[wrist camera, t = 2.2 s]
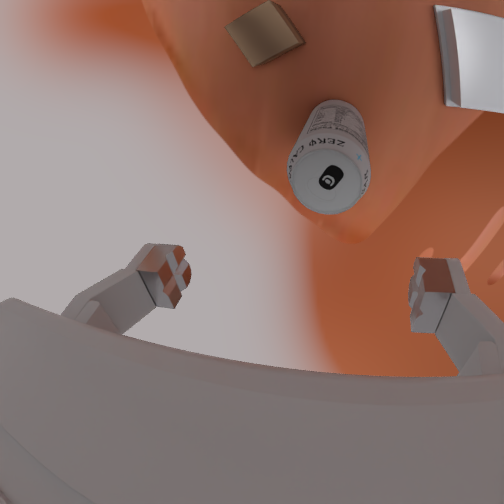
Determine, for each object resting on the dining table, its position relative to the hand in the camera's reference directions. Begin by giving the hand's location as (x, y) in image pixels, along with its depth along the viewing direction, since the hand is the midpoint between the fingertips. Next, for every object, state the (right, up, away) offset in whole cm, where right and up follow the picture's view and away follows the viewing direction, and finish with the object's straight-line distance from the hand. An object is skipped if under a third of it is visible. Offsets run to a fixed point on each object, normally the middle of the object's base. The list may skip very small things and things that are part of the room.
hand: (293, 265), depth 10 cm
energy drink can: (+8, +14, +20) cm, 26 cm away
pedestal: (+23, +20, +9) cm, 32 cm away
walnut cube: (+1, +23, +15) cm, 28 cm away
